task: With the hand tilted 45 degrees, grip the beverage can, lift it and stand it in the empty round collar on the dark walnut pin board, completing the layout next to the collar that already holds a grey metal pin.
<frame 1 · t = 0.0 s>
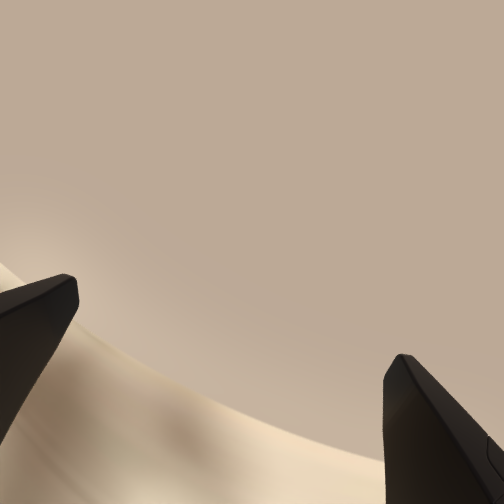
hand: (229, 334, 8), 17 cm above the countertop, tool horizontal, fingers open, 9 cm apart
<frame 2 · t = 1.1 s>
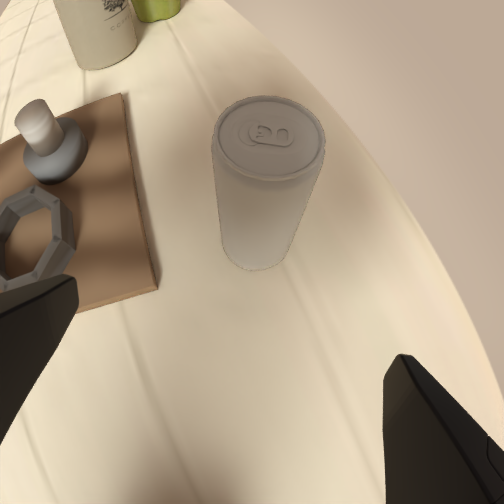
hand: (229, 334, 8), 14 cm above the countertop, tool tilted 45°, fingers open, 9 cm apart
pin board: (52, 205, 24), on the countertop
beverage can: (255, 242, 24), on the countertop
plant pot: (159, 14, 35), on the countertop
travel mug: (107, 53, 32), on the countertop
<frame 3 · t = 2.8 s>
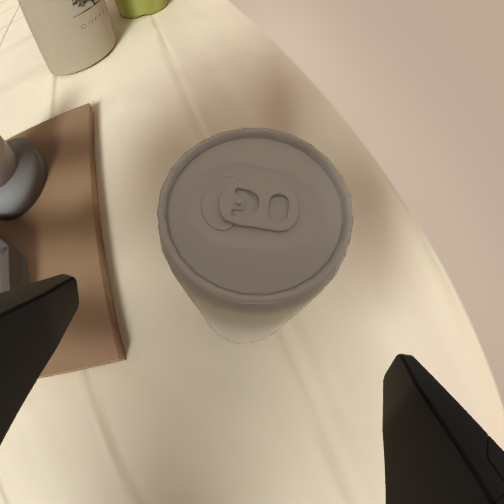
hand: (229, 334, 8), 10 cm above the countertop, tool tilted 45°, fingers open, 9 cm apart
pin board: (10, 244, 19), on the countertop
beverage can: (245, 303, 19), on the countertop
plant pot: (144, 9, 30), on the countertop
travel mug: (83, 55, 27), on the countertop
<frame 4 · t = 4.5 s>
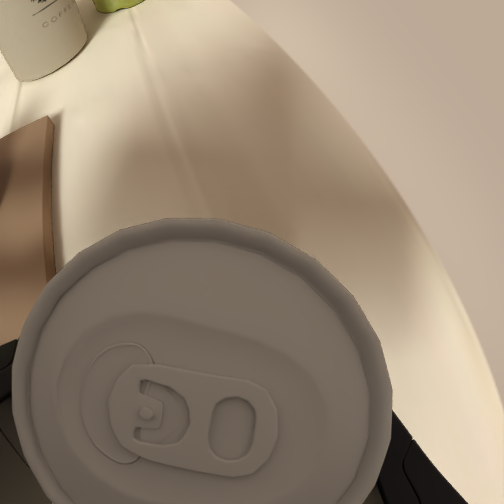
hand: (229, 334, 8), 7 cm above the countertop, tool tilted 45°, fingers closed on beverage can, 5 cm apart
beverage can: (227, 374, 14), on the countertop, touching gripper
plant pot: (123, 2, 25), on the countertop
travel mug: (51, 57, 22), on the countertop
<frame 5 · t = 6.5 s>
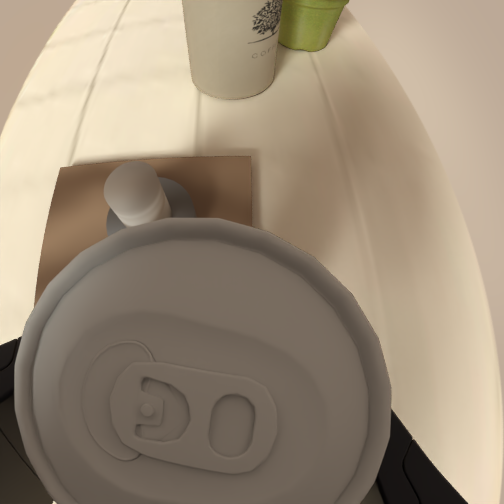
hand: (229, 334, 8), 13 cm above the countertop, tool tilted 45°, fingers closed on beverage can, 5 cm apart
pin board: (136, 291, 21), on the countertop
beverage can: (229, 374, 14), point 6 cm above the countertop, touching gripper
plant pot: (301, 40, 31), on the countertop
travel mug: (232, 76, 29), on the countertop
when the fingers open (9 cm above the countertop, at t = 8.9 s): beverage can stays where it is, resting on pin board.
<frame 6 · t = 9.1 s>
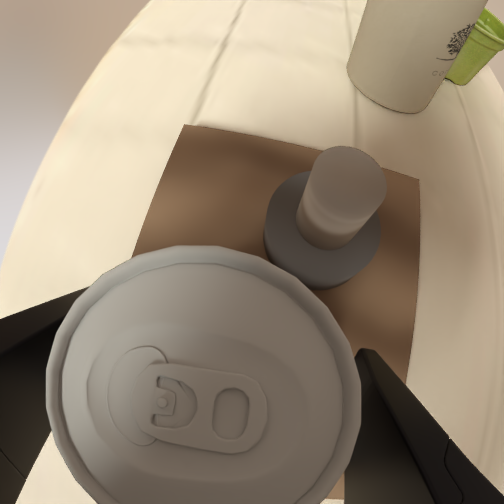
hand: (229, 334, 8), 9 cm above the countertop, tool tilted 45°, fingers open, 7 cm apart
pin board: (272, 307, 18), on the countertop
beverage can: (228, 377, 15), point 1 cm above the countertop, touching pin board
plant pot: (445, 68, 27), on the countertop
travel mug: (387, 84, 24), on the countertop
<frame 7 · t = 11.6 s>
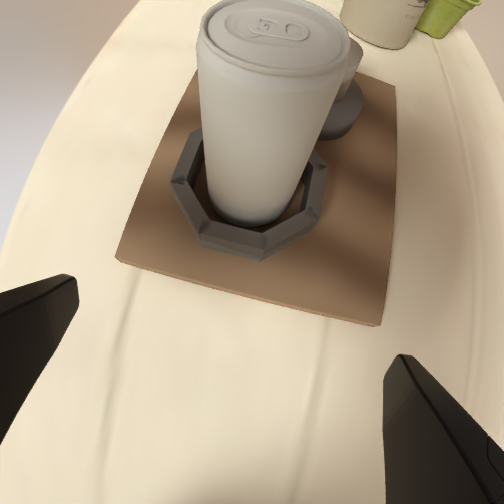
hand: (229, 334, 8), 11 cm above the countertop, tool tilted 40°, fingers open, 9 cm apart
pin board: (282, 154, 22), on the countertop
beverage can: (248, 195, 20), point 1 cm above the countertop, touching pin board
plant pot: (423, 26, 30), on the countertop
travel mug: (372, 30, 28), on the countertop
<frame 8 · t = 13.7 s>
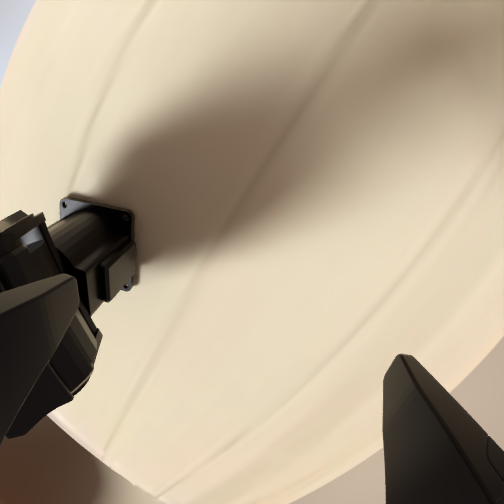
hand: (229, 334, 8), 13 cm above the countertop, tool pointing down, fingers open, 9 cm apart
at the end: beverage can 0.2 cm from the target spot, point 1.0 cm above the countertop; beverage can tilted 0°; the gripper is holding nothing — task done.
